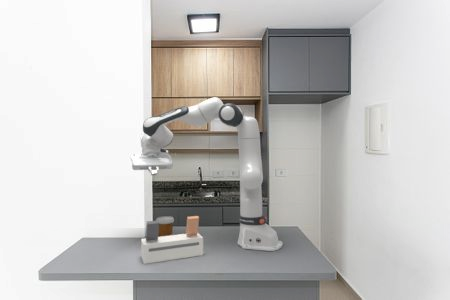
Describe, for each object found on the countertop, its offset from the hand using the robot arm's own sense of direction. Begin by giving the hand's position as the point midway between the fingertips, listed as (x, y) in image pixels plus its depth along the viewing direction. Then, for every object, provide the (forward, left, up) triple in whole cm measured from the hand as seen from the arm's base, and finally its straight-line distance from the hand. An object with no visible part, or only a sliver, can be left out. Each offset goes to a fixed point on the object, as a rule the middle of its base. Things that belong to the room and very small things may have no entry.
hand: (154, 174), depth 148 cm
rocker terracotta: (-22, +1, -26) cm, 35 cm away
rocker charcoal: (-11, +14, -26) cm, 32 cm away
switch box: (-17, +8, -35) cm, 40 cm away
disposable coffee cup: (0, -8, -36) cm, 37 cm away
